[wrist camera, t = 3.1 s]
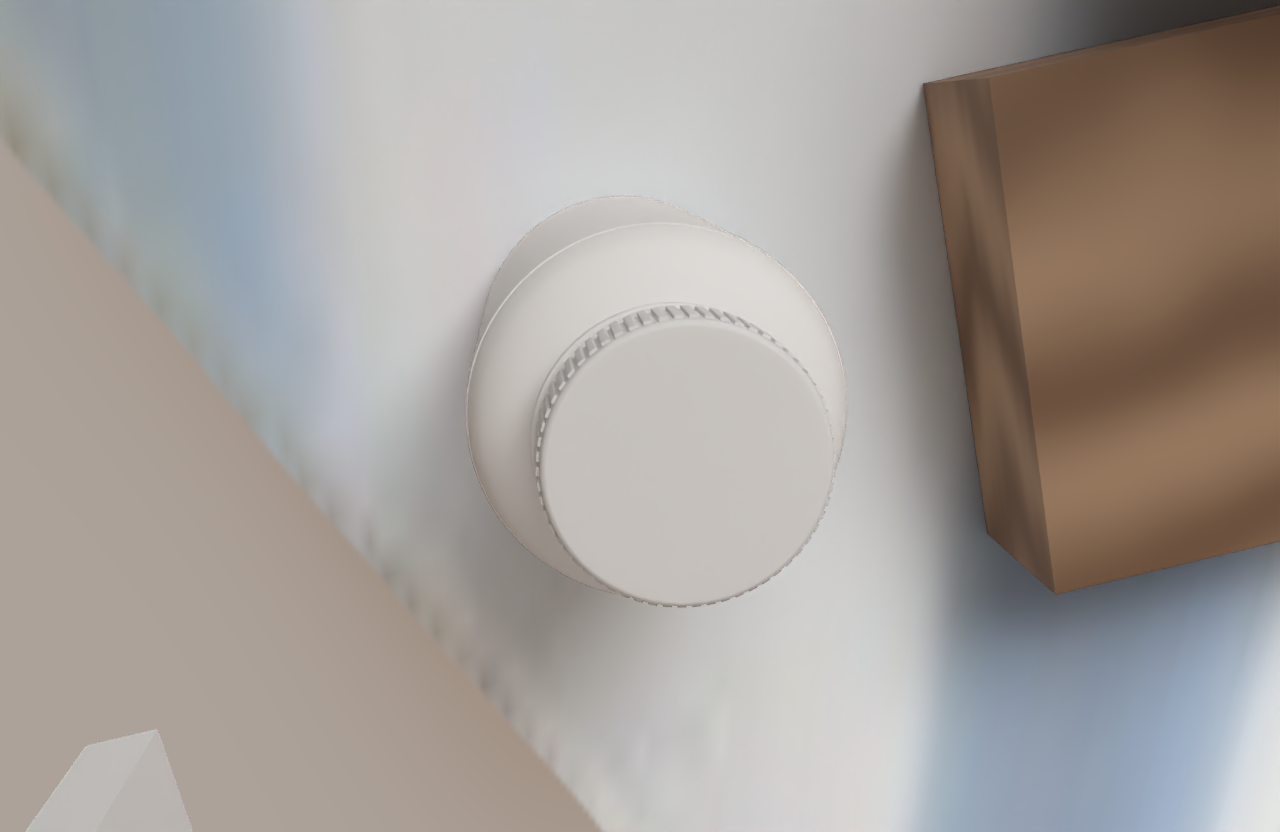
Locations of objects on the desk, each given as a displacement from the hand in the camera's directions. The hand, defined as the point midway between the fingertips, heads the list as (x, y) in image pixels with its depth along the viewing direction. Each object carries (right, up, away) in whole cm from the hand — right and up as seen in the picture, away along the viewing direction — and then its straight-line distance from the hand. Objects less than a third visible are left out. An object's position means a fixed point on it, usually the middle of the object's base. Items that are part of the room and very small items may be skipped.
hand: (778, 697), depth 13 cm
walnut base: (+15, +8, +23) cm, 29 cm away
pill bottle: (-2, +6, +22) cm, 23 cm away
